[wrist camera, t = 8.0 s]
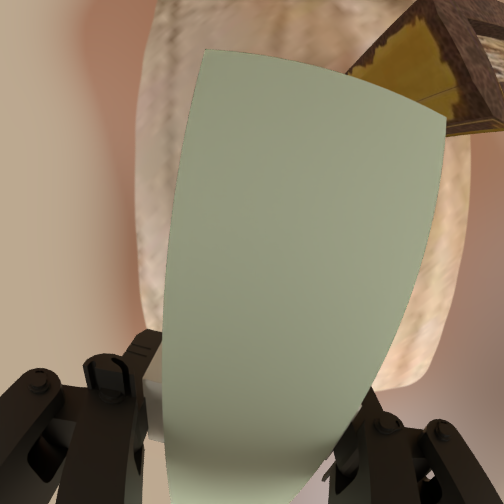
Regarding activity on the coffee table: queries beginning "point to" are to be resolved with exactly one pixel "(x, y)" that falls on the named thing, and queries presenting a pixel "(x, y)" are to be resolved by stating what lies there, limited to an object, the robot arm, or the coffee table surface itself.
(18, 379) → the robot arm
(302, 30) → the coffee table surface
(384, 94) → the pale green slab
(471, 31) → the book
